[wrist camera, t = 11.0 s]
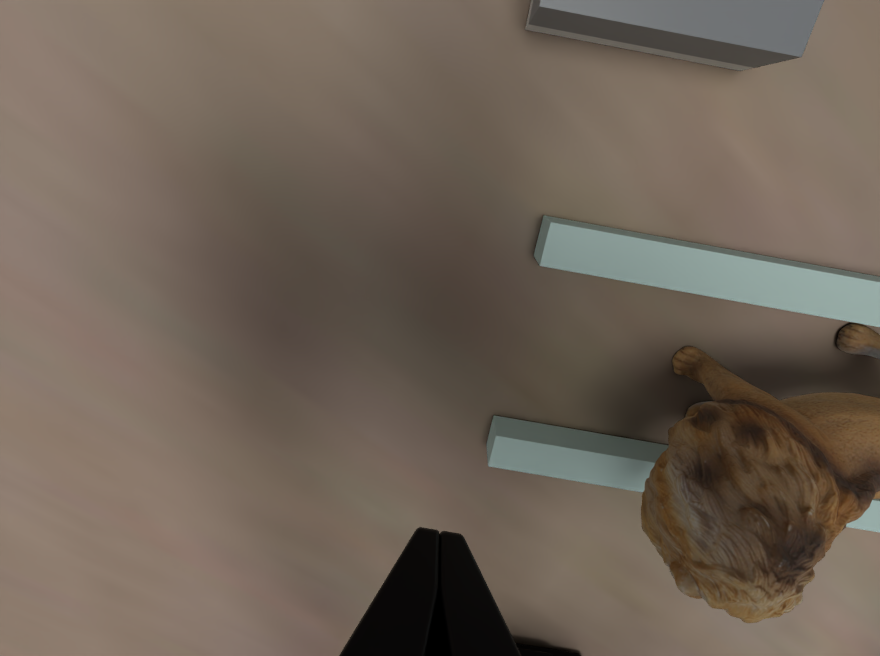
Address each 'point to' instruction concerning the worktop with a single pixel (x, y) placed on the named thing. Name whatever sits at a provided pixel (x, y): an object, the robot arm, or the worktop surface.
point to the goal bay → (679, 271)
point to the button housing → (686, 27)
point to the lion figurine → (760, 484)
